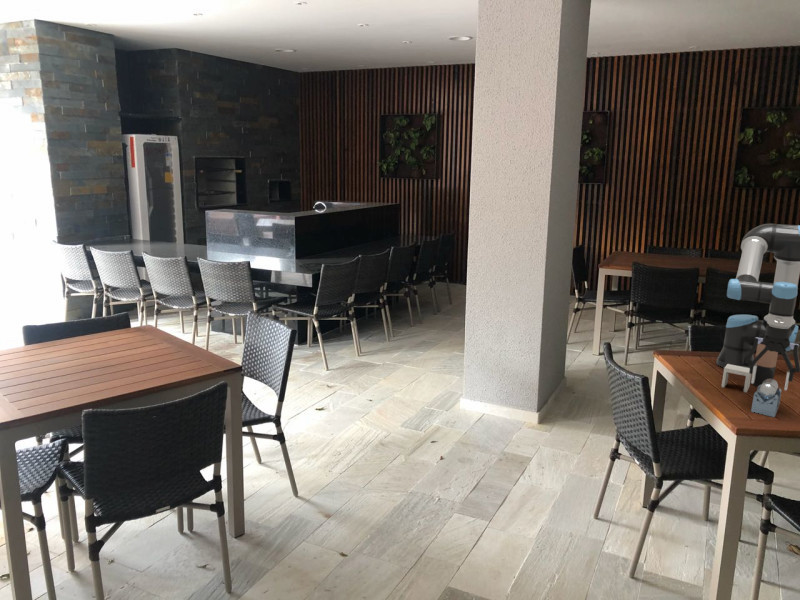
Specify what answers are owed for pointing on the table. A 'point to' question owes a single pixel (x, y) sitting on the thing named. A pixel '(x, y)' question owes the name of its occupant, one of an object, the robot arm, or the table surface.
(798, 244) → the robot arm
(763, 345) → the travel mug
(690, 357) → the table surface
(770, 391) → the axle
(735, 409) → the table surface
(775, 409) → the v block
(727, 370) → the u shaped block
